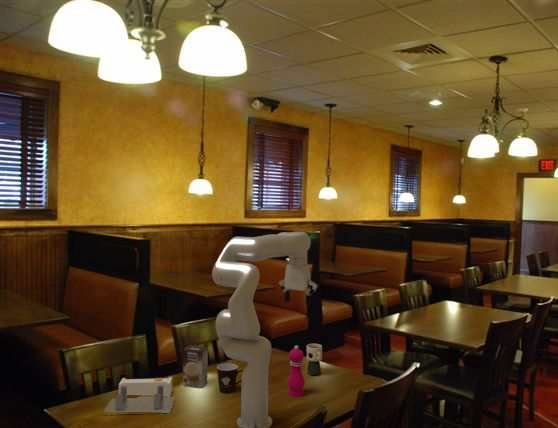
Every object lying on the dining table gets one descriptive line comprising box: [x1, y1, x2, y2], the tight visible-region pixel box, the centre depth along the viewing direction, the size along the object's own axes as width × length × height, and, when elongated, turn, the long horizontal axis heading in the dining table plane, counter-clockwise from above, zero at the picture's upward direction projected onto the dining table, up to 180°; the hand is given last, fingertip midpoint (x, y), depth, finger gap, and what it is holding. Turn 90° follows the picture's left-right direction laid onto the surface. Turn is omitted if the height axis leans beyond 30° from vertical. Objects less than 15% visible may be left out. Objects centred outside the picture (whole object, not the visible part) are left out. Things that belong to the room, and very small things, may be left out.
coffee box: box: [182, 344, 209, 389], centre depth 213 cm, size 9×6×16 cm
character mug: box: [306, 343, 323, 376], centre depth 227 cm, size 11×7×13 cm, turn 24°
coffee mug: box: [216, 362, 244, 395], centre depth 206 cm, size 12×9×10 cm
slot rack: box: [103, 386, 175, 414], centre depth 189 cm, size 12×24×6 cm, turn 95°
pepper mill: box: [286, 345, 306, 397], centre depth 204 cm, size 7×7×20 cm
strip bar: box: [118, 376, 173, 397], centre depth 201 cm, size 7×20×7 cm, turn 95°
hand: (297, 303), depth 204 cm, fingers open, 9 cm apart
